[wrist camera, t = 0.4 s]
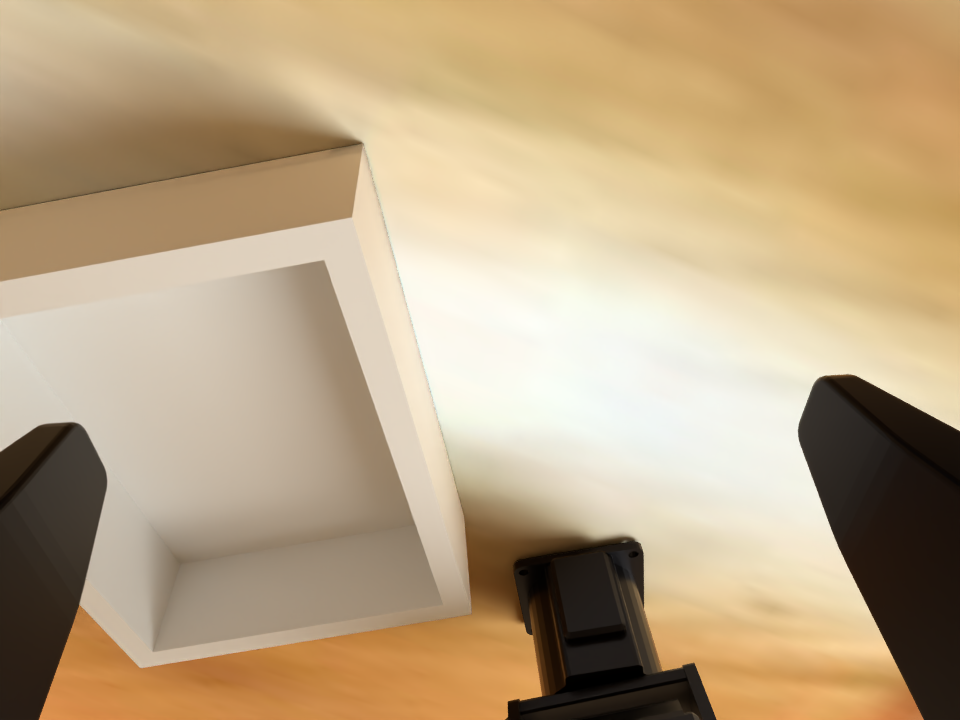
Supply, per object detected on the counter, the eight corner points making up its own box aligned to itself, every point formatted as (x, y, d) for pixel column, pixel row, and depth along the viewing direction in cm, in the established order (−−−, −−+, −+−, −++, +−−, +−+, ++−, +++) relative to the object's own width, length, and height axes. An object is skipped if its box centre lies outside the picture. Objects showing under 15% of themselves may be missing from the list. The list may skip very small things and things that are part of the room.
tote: (464, 516, 31) (471, 614, 28) (173, 565, 32) (140, 668, 28) (363, 143, 20) (352, 217, 16) (-81, 226, 21) (-195, 317, 17)
